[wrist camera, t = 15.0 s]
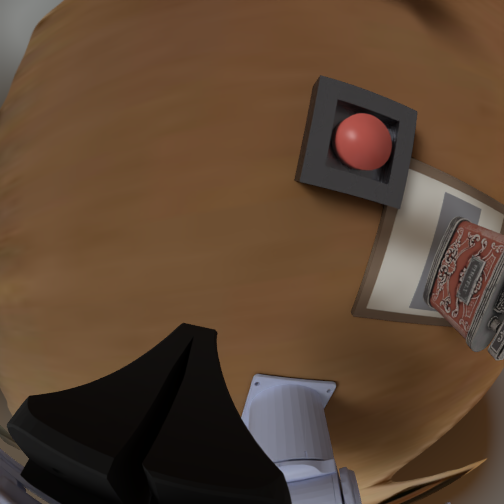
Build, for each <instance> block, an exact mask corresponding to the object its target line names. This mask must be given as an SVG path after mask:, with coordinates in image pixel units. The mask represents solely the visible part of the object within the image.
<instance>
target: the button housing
mask: <svg viewBox="0 0 504 504" xmlns="http://www.w3.org/2000/svg"><path fill="white" fill-rule="evenodd" d="M359 113H365V114H370V115H372V116H375V117H376V118H378V119H379V120H380V121H381V122H382V123H383V124H384V125H385V126H386V128H387V129H388V131H389V133H390V136H391V141H392V149H391V154H390V156H389V158H388V160H387V162H386V163H385V164H384V165H383V166H381V167H380V168H378V169H375V170H355V169H352V168H349V167H347V166H345V165H344V164H343V163H342V162H341V161H340V160H339V159H338V158H337V156H336V154H335V152H334V150H333V146H332V135H333V132H334V130H335V128H336V126H337V125H338V124H339V123H340V122H341V121H343V120H345V119H346V118H348V117H350V116H352V115H355V114H359ZM416 120H417V111H415V110H413V109H411V108H409V107H407V106H405V105H402V104H400V103H398V102H395V101H393V100H391V99H388V98H386V97H383V96H381V95H378V94H376V93H373V92H370V91H368V90H365V89H362V88H359V87H357V86H354V85H351V84H348V83H345V82H341V81H338V80H335V79H331V78H328V77H324V76H321V75H320V77H319V78H318V80H317V81H316V83H315V84H314V86H313V89H312V94H311V100H310V105H309V110H308V115H307V121H306V126H305V131H304V136H303V141H302V146H301V151H300V156H299V160H298V165H297V170H296V175H295V181H299V182H302V183H307V184H311V185H315V186H319V187H323V188H327V189H331V190H335V191H339V192H343V193H346V194H350V195H354V196H357V197H361V198H364V199H368V200H371V201H375V202H378V203H381V204H385V205H388V206H391V207H394V208H397V209H400V207H401V203H402V199H403V195H404V190H405V186H406V181H407V176H408V171H409V166H410V160H411V154H412V148H413V142H414V135H415V128H416Z"/></svg>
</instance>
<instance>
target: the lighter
mask: <svg viewBox="0 0 504 504" xmlns="http://www.w3.org/2000/svg"><path fill="white" fill-rule="evenodd" d="M423 300H424V301H425V303H426V304H427V305H428V306H429V307H430V308H432V309H436V310H437V311H438V312H439V313H440V314H441V315H442V316H443V317H444V318H445V319H446V320H447V321H448V322H449V323H450V324H451V325H452V326H453V327H454V328H455V329H456V330H457V331H458V332H459V333H460V334H461V335H462V336H463V337H464V338H465V339H466V343H467V345H468V346H469V347H470V348H471V349H472V350H473V351H475V352H479V351H481V350H483V349H484V348H485V347H487V346H488V344H489V343H490V342H491V341H492V339H493V338H494V339H493V341H492V343H491V345H490V346H489V348H488V352H489V353H490V354H491V355H492V356H493V357H494V358H495V360H503V359H504V235H502V234H499V233H497V232H494V231H492V230H489V229H487V228H484V227H482V226H479V225H476V224H474V223H472V222H471V221H470V220H468V219H466V218H463V217H459V216H458V217H455V218H453V219H452V220H451V222H450V223H449V225H448V228H447V230H446V232H445V234H444V236H443V238H442V240H441V242H440V245H439V247H438V250H437V252H436V254H435V257H434V260H433V263H432V266H431V268H430V271H429V274H428V277H427V281H426V285H425V288H424V292H423ZM495 335H496V336H495ZM494 336H495V337H494Z"/></svg>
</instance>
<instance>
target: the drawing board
mask: <svg viewBox="0 0 504 504" xmlns="http://www.w3.org/2000/svg"><path fill="white" fill-rule="evenodd" d="M458 216H459V217H463V218H466V219H468V220H470V221H471V222H472V223H474V224H476V225H479V226H482V227H484V228H487V229H489V230H492V231H494V232H497V233H499V234H502V235H504V205H503V204H501V203H500V202H498V201H496V200H495V199H493V198H491V197H490V196H488V195H486V194H484V193H483V192H481V191H479V190H477V189H476V188H474V187H472V186H470V185H468V184H466V183H465V182H463V181H461V180H459V179H457V178H455V177H453V176H451V175H449V174H447V173H445V172H443V171H441V170H438V169H436V168H434V167H432V166H430V165H427V164H425V163H423V162H421V161H418V160H416V159H414V158H411V160H410V166H409V171H408V176H407V181H406V186H405V190H404V195H403V199H402V203H401V207H400V209H397V208H394V207H391V206H388V205H385V204H384V208H383V212H382V216H381V220H380V224H379V227H378V231H377V235H376V238H375V242H374V245H373V248H372V252H371V255H370V258H369V262H368V265H367V268H366V271H365V274H364V277H363V280H362V283H361V286H360V289H359V291H358V294H357V297H356V300H355V303H354V305H353V308H352V311H351V314H352V315H353V316H356V317H364V318H371V319H380V320H388V321H397V322H406V323H416V324H426V325H437V326H450V327H453V326H452V325H451V324H450V323H449V322H448V321H447V320H446V319H445V318H444V317H443V316H442V315H441V314H440V313H439V312H438V311H437V310H436V309H432V308H430V307H429V306H428V305H427V304H426V303H425V301H424V300H423V292H424V288H425V285H426V281H427V277H428V274H429V271H430V268H431V266H432V263H433V260H434V257H435V254H436V252H437V250H438V247H439V245H440V242H441V240H442V238H443V236H444V234H445V232H446V230H447V228H448V225H449V223H450V222H451V220H452V219H453V218H455V217H458Z"/></svg>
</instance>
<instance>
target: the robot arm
mask: <svg viewBox="0 0 504 504" xmlns="http://www.w3.org/2000/svg"><path fill="white" fill-rule="evenodd" d="M256 382H259V383H256ZM335 388H336V384H335V382H331V381H316V380H305V379H295V378H286V377H277V376H270V375H262V374H256V375H254V377H253V379H252V383H251V386H250V390H249V393H248V397H247V400H246V403H245V407H244V410H243V413H242V417H240V415H239V413H238V411H237V409H236V407H235V405H234V403H233V401H232V399H231V397H230V394H229V392H228V389H227V386H226V383H225V380H224V377H223V374H222V371H221V367H220V362H219V358H218V352H217V332H216V330H214V329H209V328H204V327H200V326H195V325H191V324H186V323H182V324H181V325H179V326H178V327H177V328H176V329H175V330H174V331H173V332H172V333H171V334H170V335H168V336H167V337H166V338H165V339H164V340H162V341H161V342H160V343H159V344H157V345H156V346H155V347H154V348H152V349H151V350H150V351H148V352H147V353H145V354H144V355H142V356H141V357H139V358H138V359H136V360H135V361H133V362H132V363H130V364H128V365H127V366H125V367H123V368H121V369H120V370H118V371H116V372H114V373H112V374H110V375H107V376H105V377H103V378H100V379H98V380H96V381H93V382H91V383H88V384H85V385H82V386H78V387H75V388H71V389H67V390H63V391H59V392H53V393H47V394H40V395H32V396H29V397H28V398H27V399H26V400H25V401H24V402H23V404H22V405H21V406H20V407H19V409H18V410H17V411H16V413H15V414H14V415H13V417H12V418H11V420H10V421H9V422H8V424H7V428H8V431H9V433H10V435H11V436H12V438H13V439H14V441H15V442H16V443H17V444H18V446H19V447H20V448H21V450H22V451H23V452H24V453H25V454H26V456H27V457H28V458H29V460H28V462H27V463H26V465H25V467H23V466H22V465H21V464H19V463H18V462H16V461H15V460H14V459H13V458H11V457H10V456H9V455H7V454H6V453H5V452H4V451H3V450H1V449H0V504H42V503H40V502H39V501H37V500H36V499H34V498H33V497H31V496H30V495H29V494H27V493H26V489H25V488H27V489H28V490H30V491H31V492H33V493H34V494H35V495H37V496H38V497H40V498H42V499H43V500H45V501H46V502H48V503H50V504H362V503H361V498H360V493H359V489H358V485H357V481H356V477H355V473H354V471H352V470H350V469H347V467H343V468H340V469H339V472H340V477H339V473H338V470H337V466H336V463H335V459H334V456H333V451H332V446H331V441H330V436H329V431H328V427H327V422H326V417H325V413H324V408H325V406H326V404H327V403H328V401H329V399H330V397H331V395H332V394H333V392H334V390H335ZM329 389H330V390H329ZM340 478H341V479H340ZM340 481H341V482H340ZM24 487H25V488H24ZM445 504H450V502H447V503H445Z"/></svg>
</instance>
